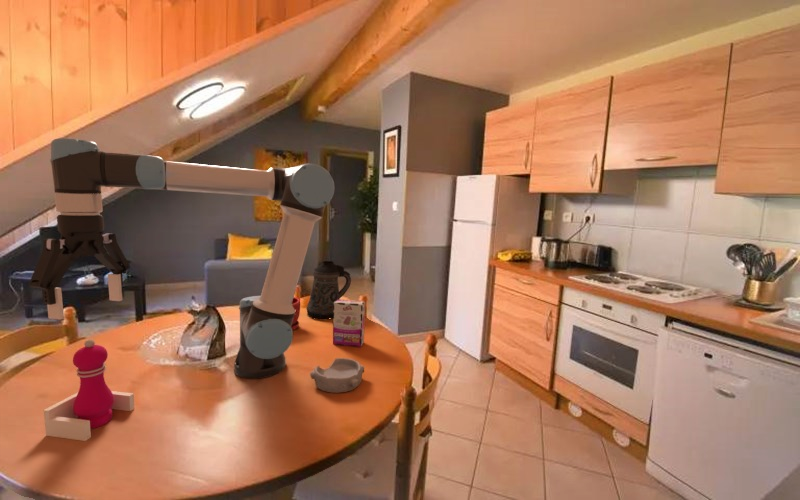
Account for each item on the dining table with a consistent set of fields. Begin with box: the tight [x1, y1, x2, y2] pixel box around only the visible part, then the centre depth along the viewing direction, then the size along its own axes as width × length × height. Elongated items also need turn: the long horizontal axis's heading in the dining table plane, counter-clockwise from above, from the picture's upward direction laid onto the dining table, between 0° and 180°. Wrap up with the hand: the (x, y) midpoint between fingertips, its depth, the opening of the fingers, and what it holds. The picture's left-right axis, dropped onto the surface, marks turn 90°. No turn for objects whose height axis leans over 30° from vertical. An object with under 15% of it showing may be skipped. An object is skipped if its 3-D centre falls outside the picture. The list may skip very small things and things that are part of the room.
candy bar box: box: [332, 299, 366, 348], centre depth 135 cm, size 11×5×16 cm, turn 83°
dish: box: [309, 357, 365, 394], centre depth 106 cm, size 14×14×5 cm
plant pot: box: [291, 296, 301, 331], centre depth 147 cm, size 13×13×12 cm
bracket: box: [43, 390, 135, 442], centre depth 83 cm, size 10×12×6 cm
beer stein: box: [305, 260, 352, 320], centre depth 168 cm, size 16×19×25 cm
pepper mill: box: [72, 339, 114, 430], centre depth 82 cm, size 7×7×20 cm
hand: (88, 308), depth 80 cm, fingers open, 13 cm apart
